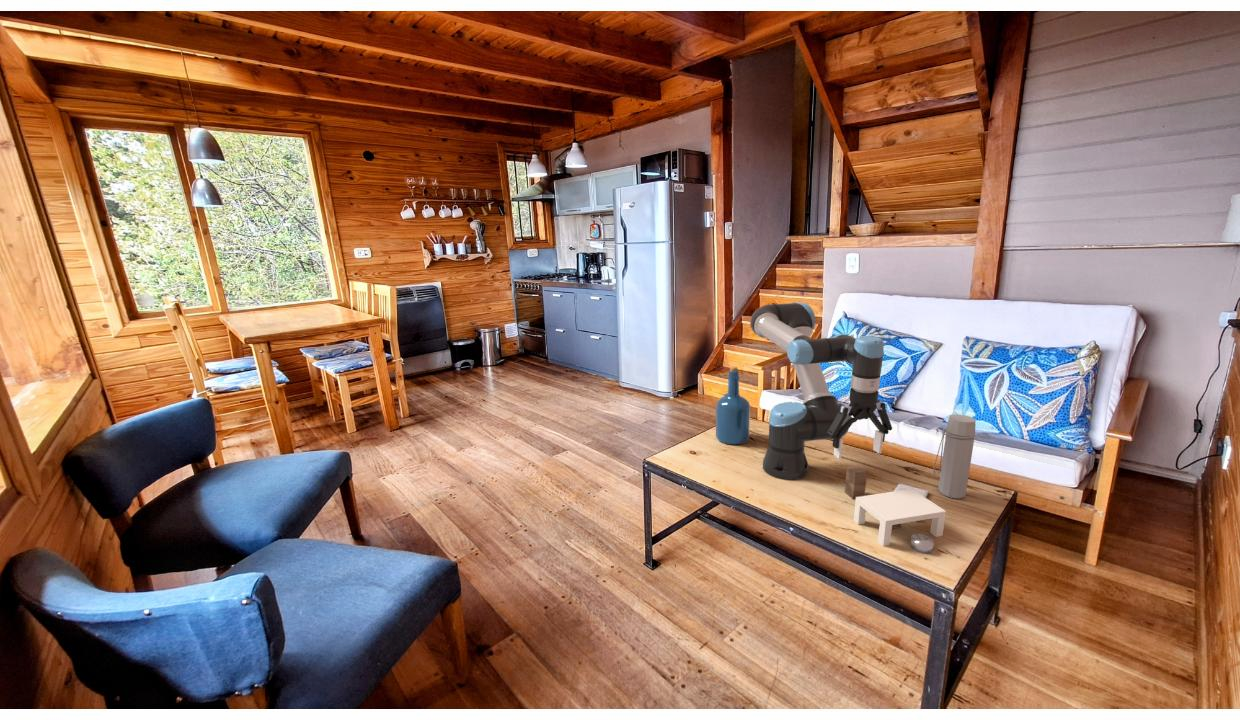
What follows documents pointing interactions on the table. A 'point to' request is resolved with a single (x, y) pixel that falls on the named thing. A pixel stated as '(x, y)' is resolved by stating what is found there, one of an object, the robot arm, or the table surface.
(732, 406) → the wine bottle
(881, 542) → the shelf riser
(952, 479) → the water bottle
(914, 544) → the steel puck
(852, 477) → the walnut paddle
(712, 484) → the table surface
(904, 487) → the external hard drive
